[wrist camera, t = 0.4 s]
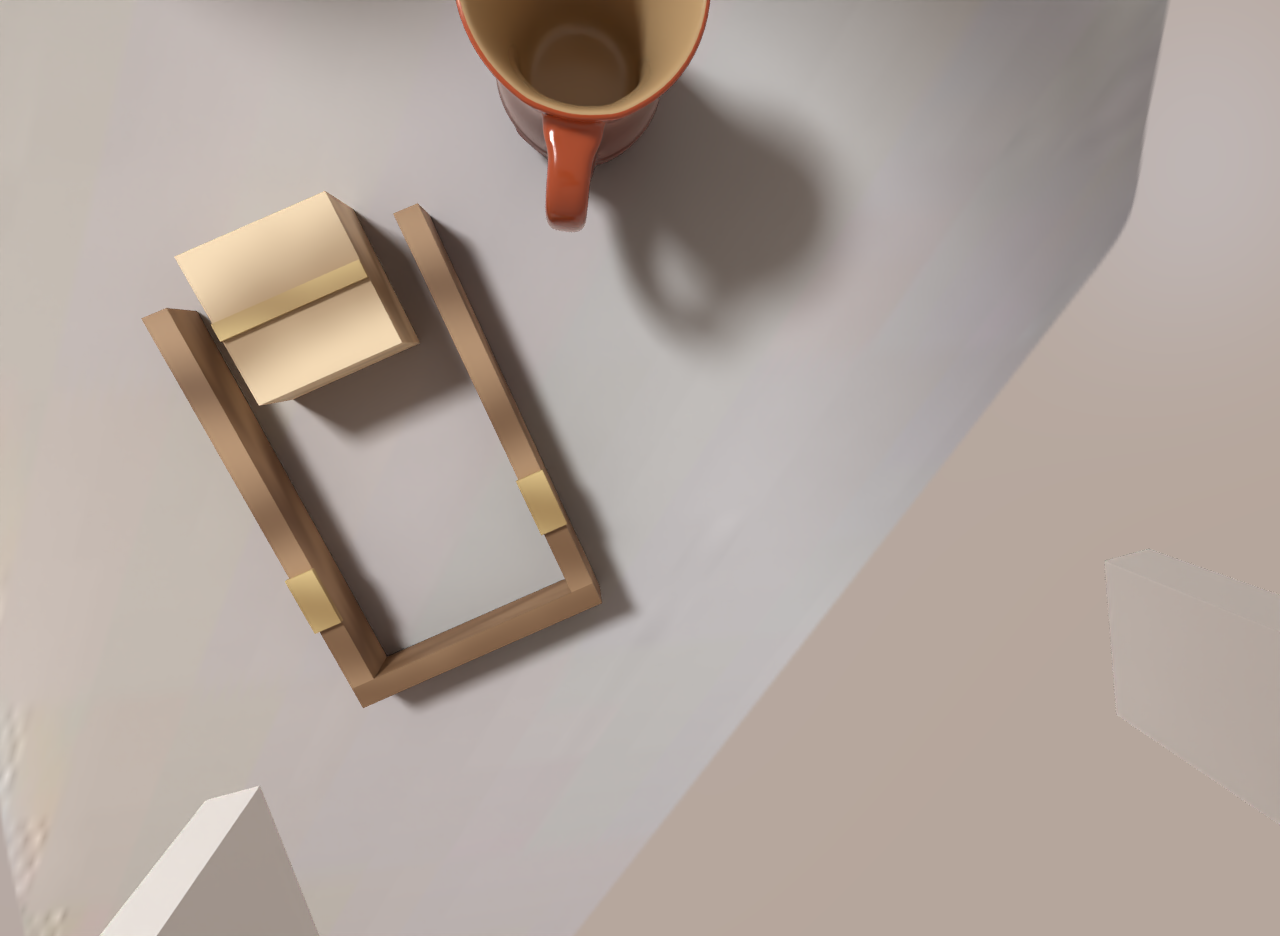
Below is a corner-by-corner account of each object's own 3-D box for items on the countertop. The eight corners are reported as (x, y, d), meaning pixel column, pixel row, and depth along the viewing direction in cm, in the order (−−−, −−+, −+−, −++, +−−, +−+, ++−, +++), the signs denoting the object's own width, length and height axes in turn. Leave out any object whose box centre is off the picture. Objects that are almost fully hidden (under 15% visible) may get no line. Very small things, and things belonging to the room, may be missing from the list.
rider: (222, 267, 32) (171, 256, 28) (354, 210, 32) (323, 190, 28) (295, 399, 34) (256, 406, 29) (421, 343, 34) (400, 342, 30)
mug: (494, -21, 31) (460, -199, 21) (677, 12, 32) (727, -142, 22) (477, 243, 33) (437, 197, 23) (649, 266, 34) (683, 231, 24)
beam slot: (171, 321, 32) (135, 319, 29) (430, 213, 32) (418, 201, 30) (375, 684, 36) (359, 711, 34) (601, 585, 37) (604, 604, 34)
